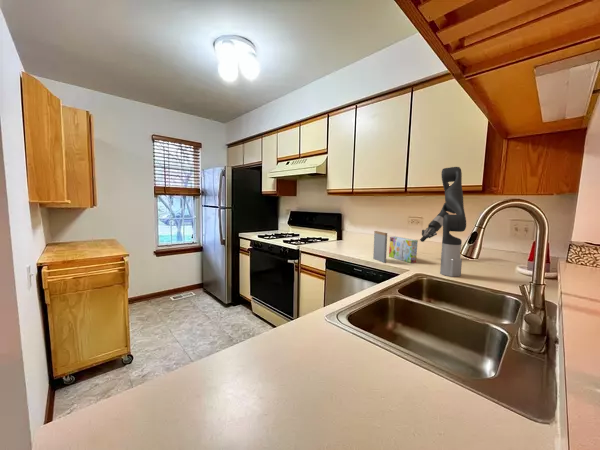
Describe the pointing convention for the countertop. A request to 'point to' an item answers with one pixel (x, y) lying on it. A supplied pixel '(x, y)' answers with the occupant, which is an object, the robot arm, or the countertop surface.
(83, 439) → the countertop surface
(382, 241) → the board
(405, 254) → the snack box
